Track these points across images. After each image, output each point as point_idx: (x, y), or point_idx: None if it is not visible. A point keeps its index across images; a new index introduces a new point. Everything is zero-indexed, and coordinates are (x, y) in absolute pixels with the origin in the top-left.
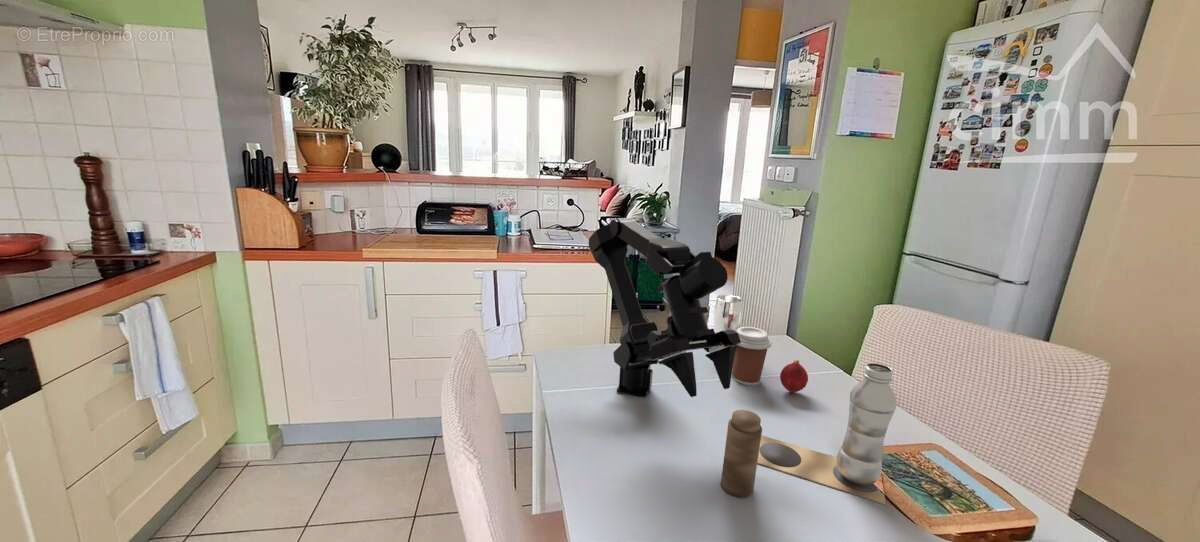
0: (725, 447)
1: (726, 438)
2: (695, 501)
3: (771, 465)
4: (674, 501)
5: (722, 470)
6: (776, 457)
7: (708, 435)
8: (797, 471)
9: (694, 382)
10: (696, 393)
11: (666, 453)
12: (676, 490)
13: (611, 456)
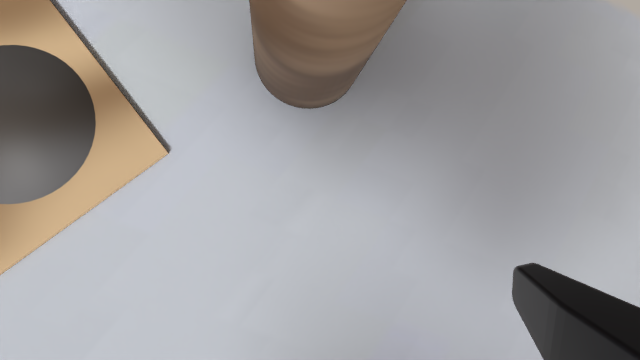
0: (387, 29)
1: (395, 16)
2: (470, 59)
3: (103, 87)
4: (528, 85)
5: (360, 71)
6: (42, 115)
7: (202, 345)
8: (33, 22)
9: (615, 317)
10: (525, 272)
11: (430, 298)
12: (498, 122)
13: None
